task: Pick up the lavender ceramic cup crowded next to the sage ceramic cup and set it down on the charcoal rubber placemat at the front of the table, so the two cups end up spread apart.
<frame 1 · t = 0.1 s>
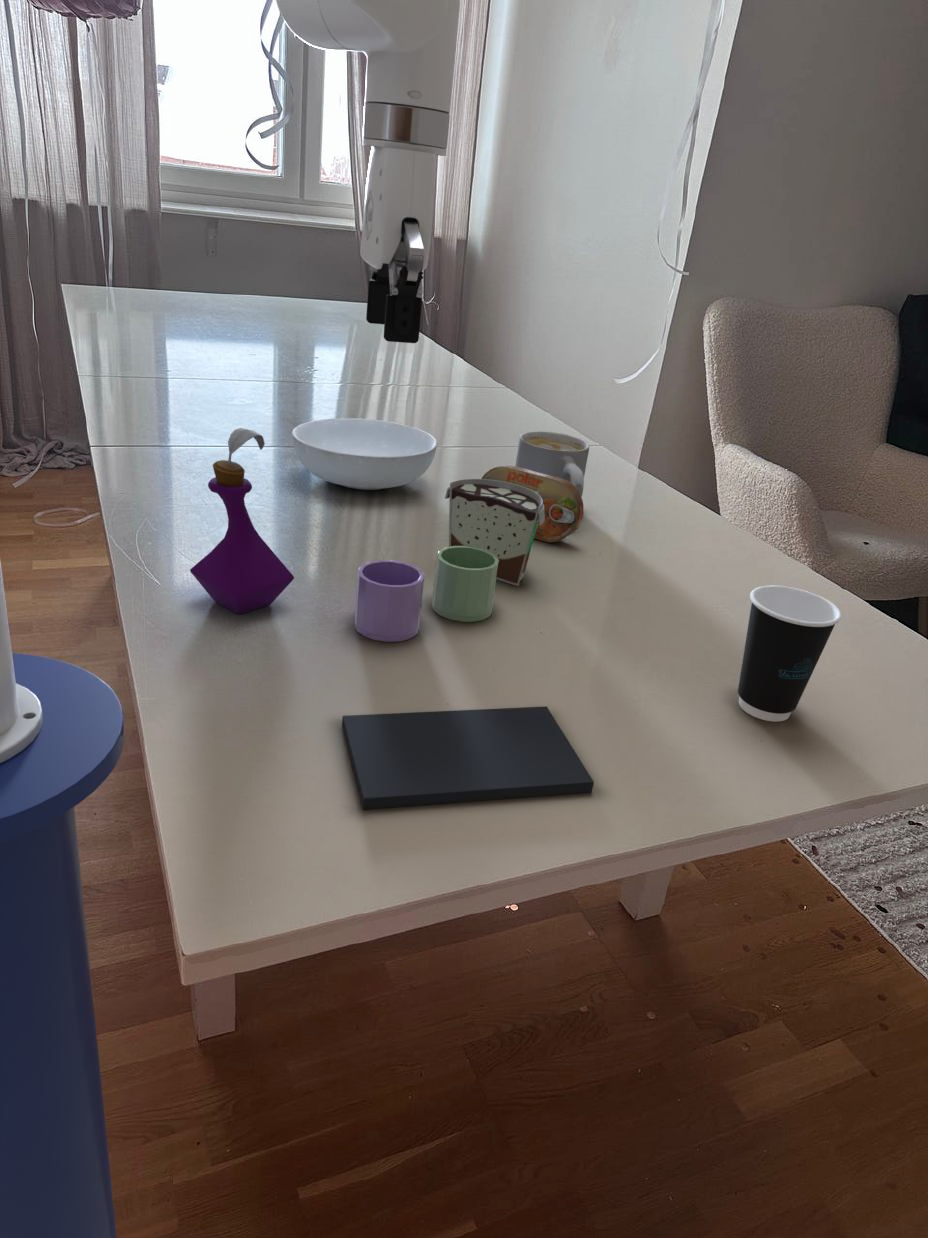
hand: (390, 332, 87), 27 cm above the table, tool pointing down, fingers open, 9 cm apart
lavender cup: (386, 627, 91), on the table
serving bowl: (362, 481, 133), on the table
tin: (525, 533, 121), on the table
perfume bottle: (242, 604, 92), on the table
dixie cup: (763, 709, 85), on the table
food container: (494, 569, 108), on the table
coffee mug: (546, 513, 129), on the table
sage cup: (461, 608, 97), on the table
placemat: (463, 758, 72), on the table
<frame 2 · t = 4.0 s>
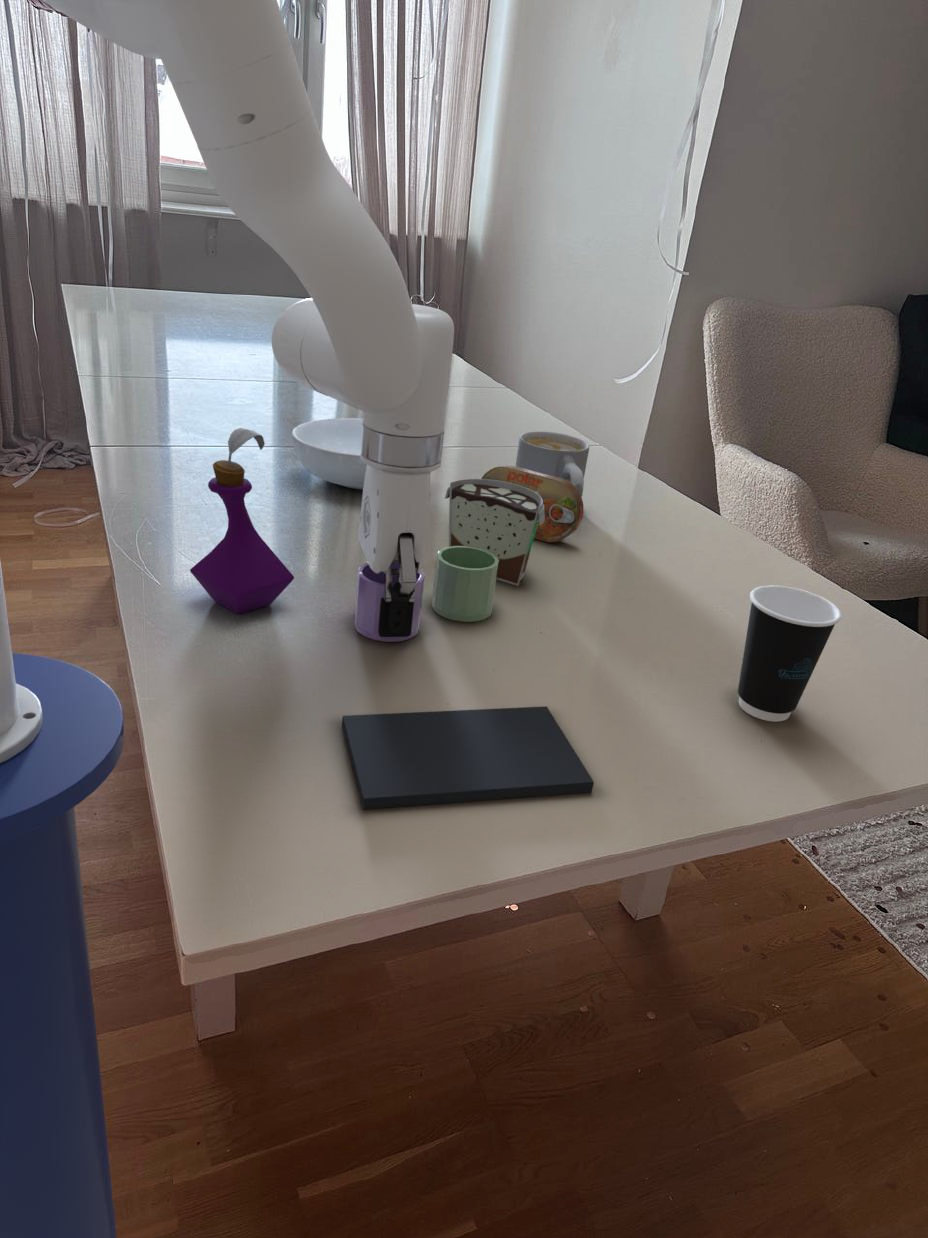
hand: (387, 617, 90), 1 cm above the table, tool pointing down, fingers closed on lavender cup, 6 cm apart
lavender cup: (386, 627, 91), on the table, touching gripper
everything else where it was.
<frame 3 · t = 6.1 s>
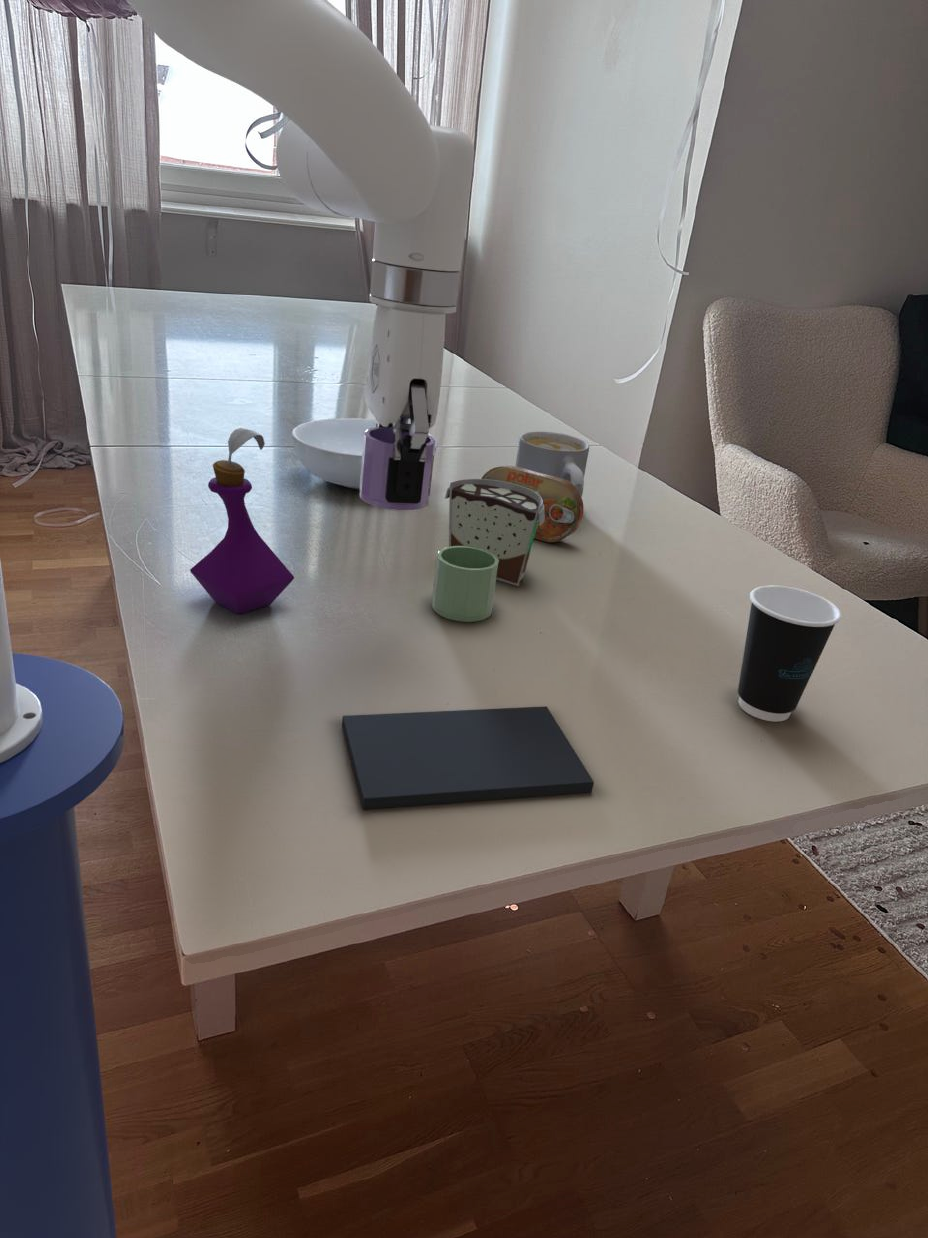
hand: (395, 487, 84), 15 cm above the table, tool pointing down, fingers closed on lavender cup, 6 cm apart
lavender cup: (394, 498, 84), point 14 cm above the table, touching gripper
everything else where it was.
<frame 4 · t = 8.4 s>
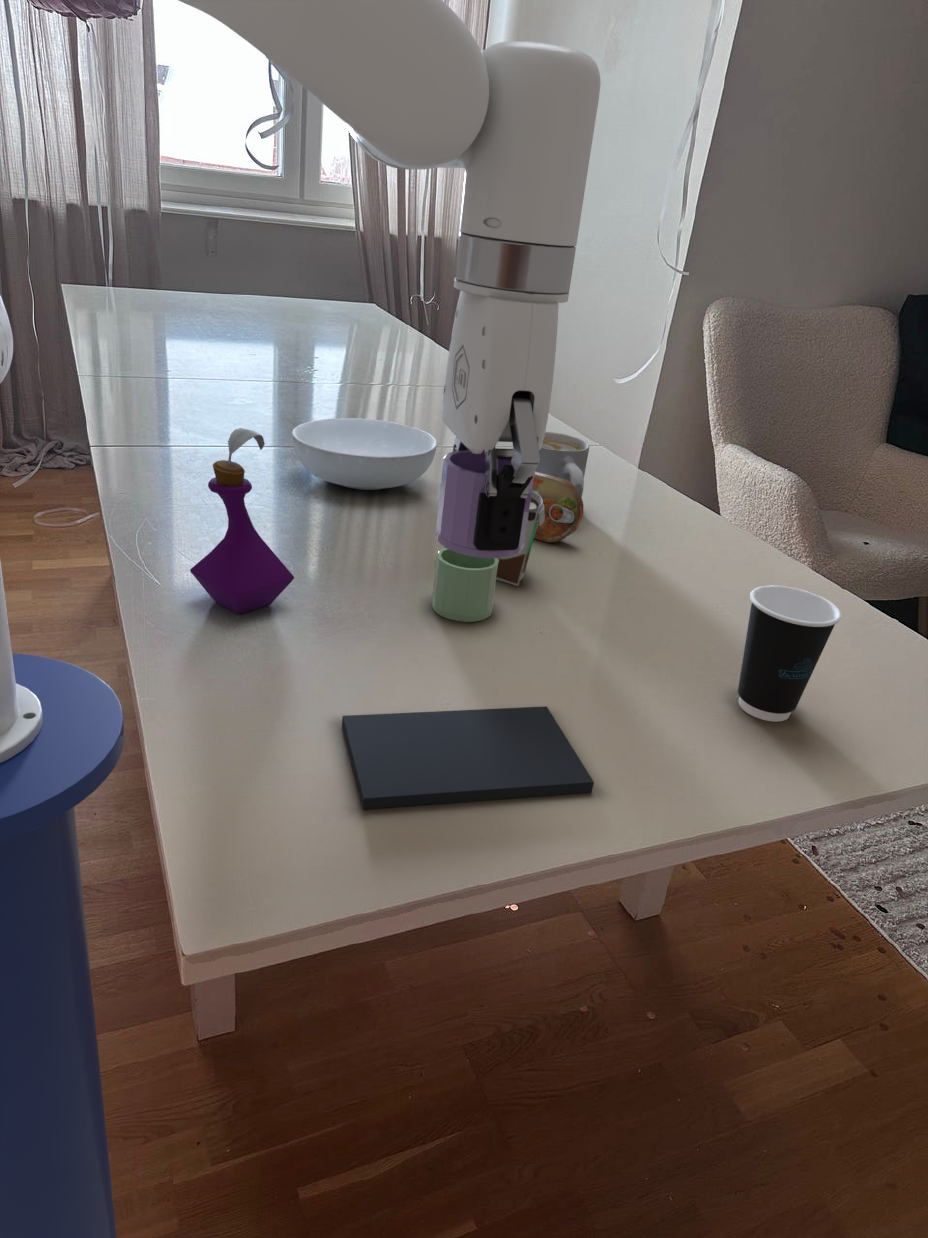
hand: (481, 527, 66), 19 cm above the table, tool pointing down, fingers closed on lavender cup, 6 cm apart
lavender cup: (479, 541, 66), point 18 cm above the table, touching gripper
everything else where it was.
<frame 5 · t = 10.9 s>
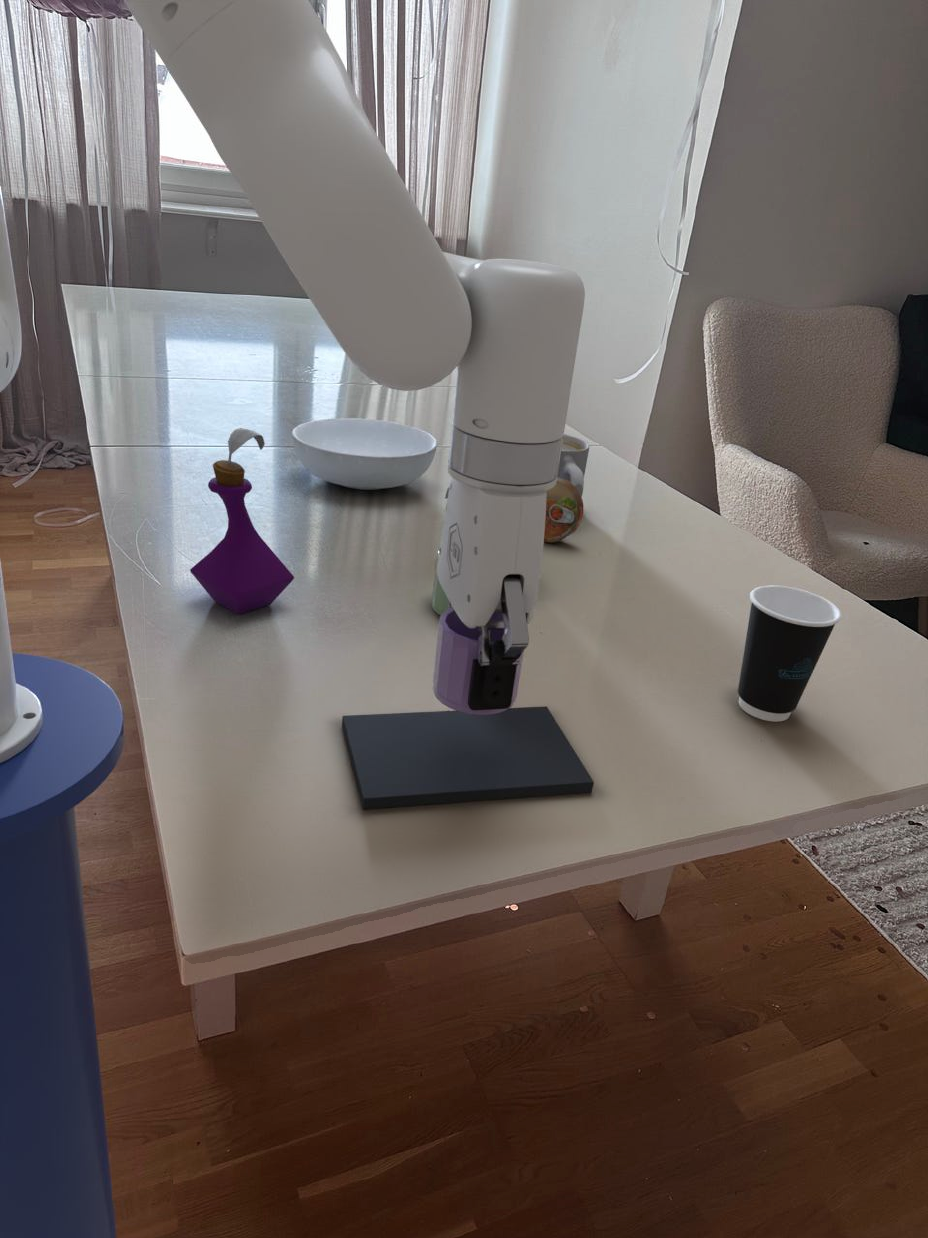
hand: (475, 680, 69), 7 cm above the table, tool pointing down, fingers closed on lavender cup, 6 cm apart
lavender cup: (474, 692, 69), point 6 cm above the table, touching gripper
everything else where it was.
when the fingers open (2 cm above the table, at t = 12.6 s): lavender cup stays where it is, resting on placemat.
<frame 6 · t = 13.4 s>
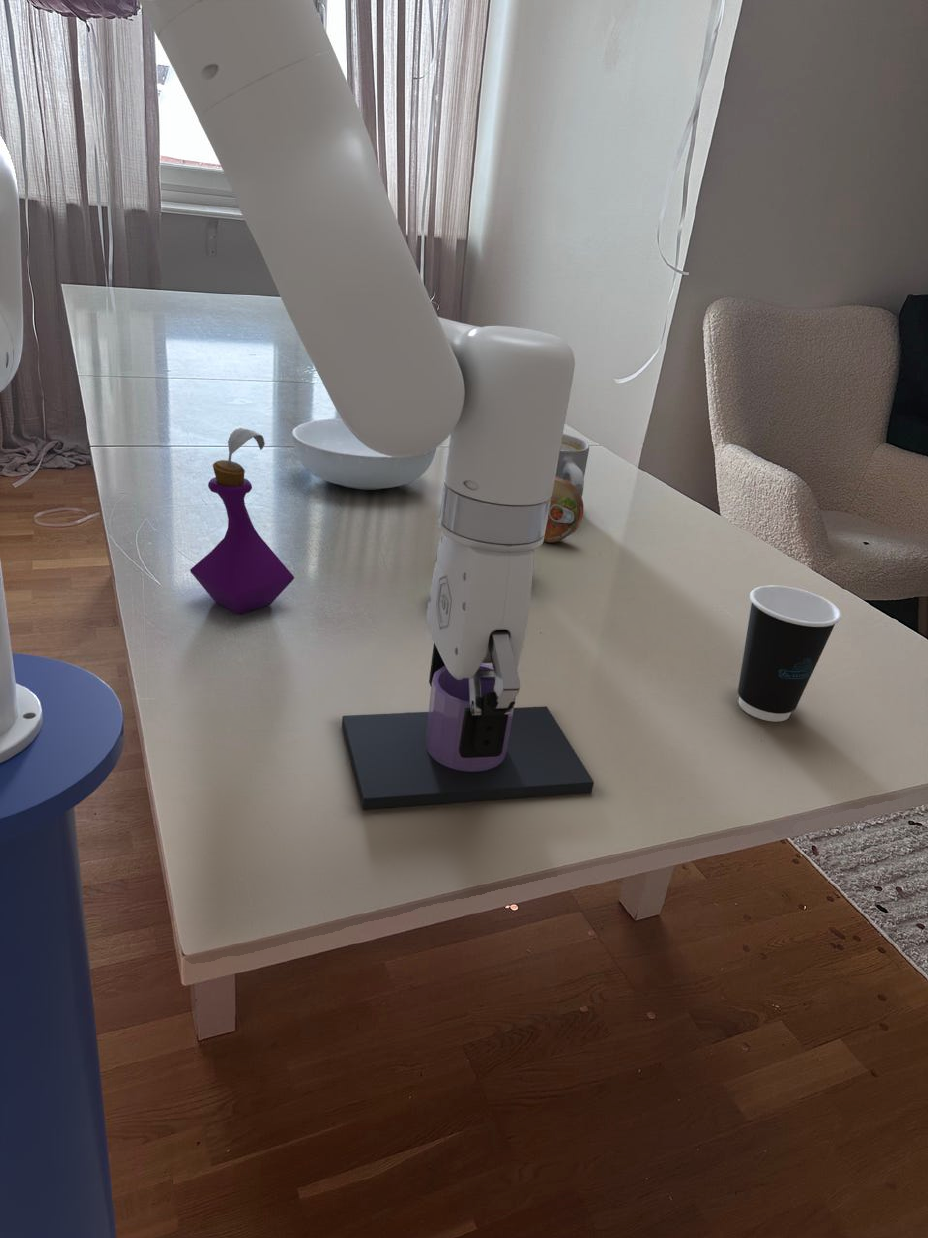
hand: (462, 718, 70), 4 cm above the table, tool pointing down, fingers open, 9 cm apart
lavender cup: (466, 747, 71), point 1 cm above the table, touching placemat
everything else where it was.
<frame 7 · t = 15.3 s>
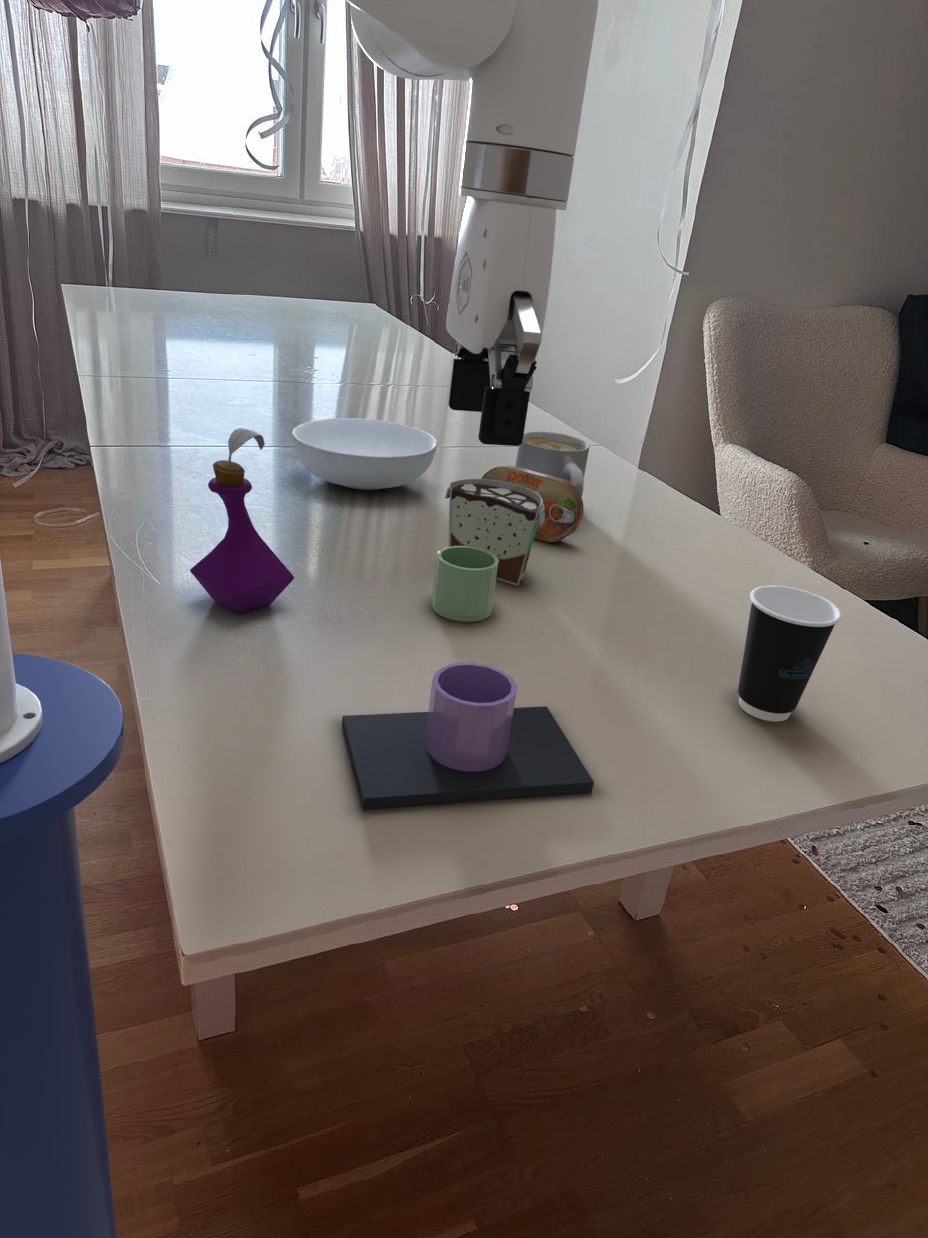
hand: (482, 425, 69), 25 cm above the table, tool pointing down, fingers open, 9 cm apart
nothing on the table moved.
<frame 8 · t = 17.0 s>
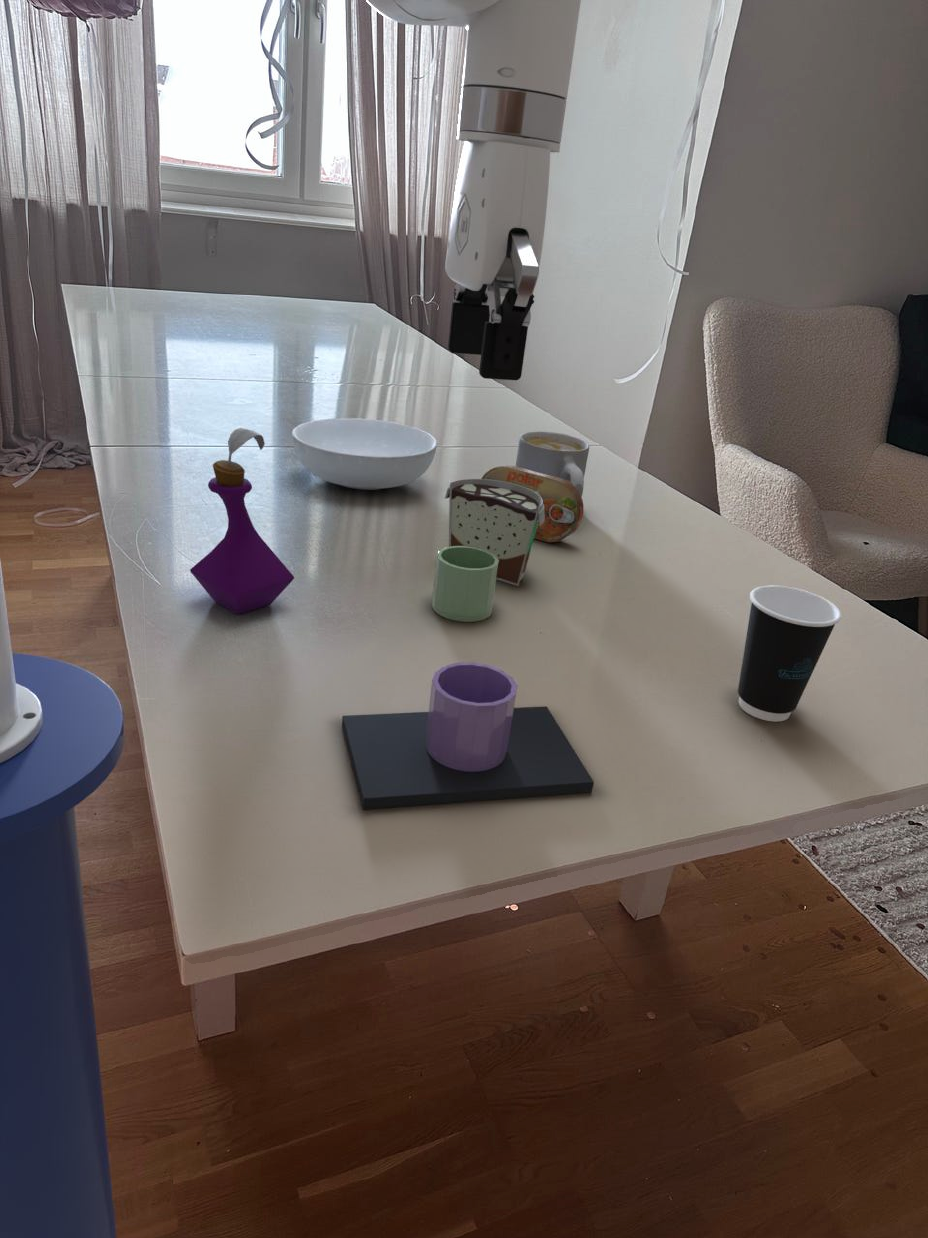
hand: (482, 364, 72), 28 cm above the table, tool pointing down, fingers open, 9 cm apart
nothing on the table moved.
at the end: lavender cup inside the target area on the placemat (0.1 cm from its centre), point 1.0 cm above the placemat's base; lavender cup tilted 0°; sage cup moved 0.0 cm from its start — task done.
